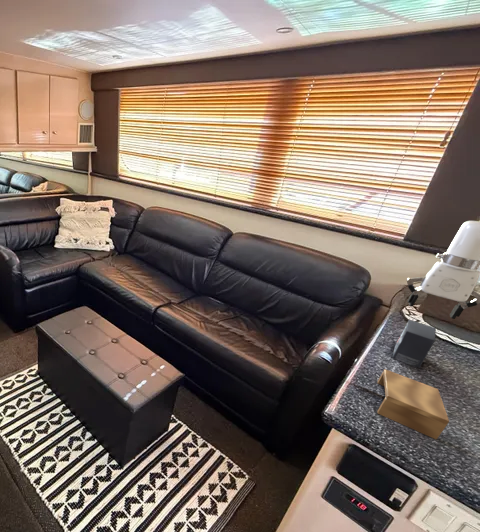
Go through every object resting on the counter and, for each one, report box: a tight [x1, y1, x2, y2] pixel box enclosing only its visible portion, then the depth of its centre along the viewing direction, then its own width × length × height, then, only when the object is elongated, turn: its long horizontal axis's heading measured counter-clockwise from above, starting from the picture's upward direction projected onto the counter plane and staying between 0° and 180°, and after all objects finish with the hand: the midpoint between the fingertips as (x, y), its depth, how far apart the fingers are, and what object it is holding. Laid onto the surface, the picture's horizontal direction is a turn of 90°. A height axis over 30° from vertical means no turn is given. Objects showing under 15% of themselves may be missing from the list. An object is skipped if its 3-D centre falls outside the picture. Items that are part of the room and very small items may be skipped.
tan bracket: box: [377, 368, 450, 440], centre depth 84 cm, size 11×15×6 cm
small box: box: [392, 319, 437, 369], centre depth 107 cm, size 13×7×12 cm, turn 133°
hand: (430, 311), depth 102 cm, fingers open, 9 cm apart
